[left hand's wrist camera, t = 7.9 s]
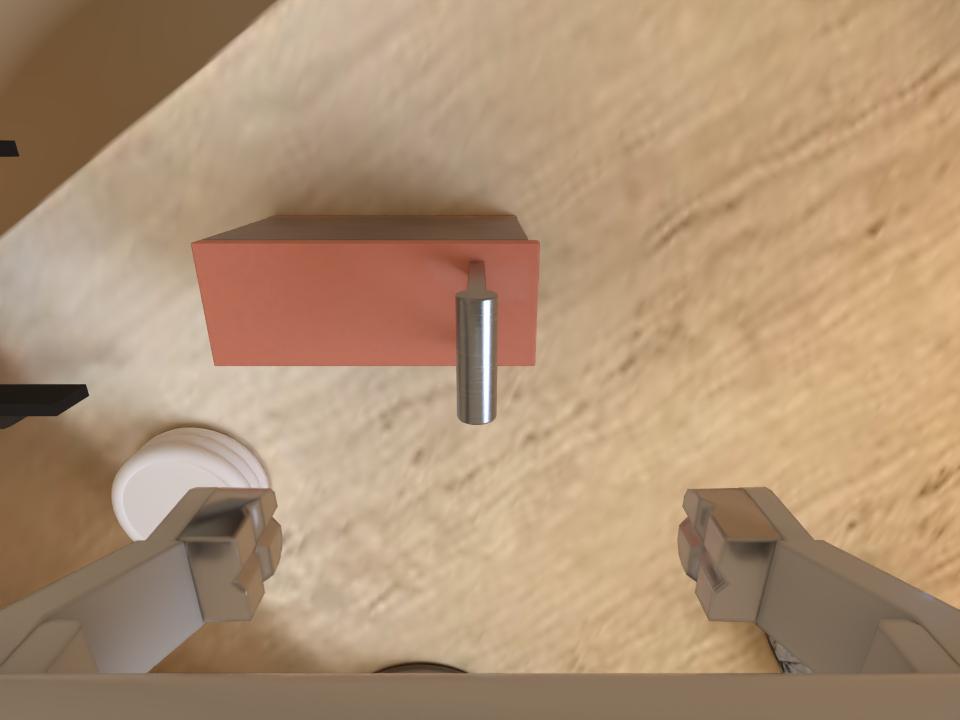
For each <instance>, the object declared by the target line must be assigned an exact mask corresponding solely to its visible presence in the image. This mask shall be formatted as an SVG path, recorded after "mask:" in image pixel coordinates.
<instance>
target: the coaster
mask: <svg viewBox="0 0 960 720" xmlns="http://www.w3.org/2000/svg"><path fill="white" fill-rule="evenodd" d="M195 487H219V488H221V487H237V488H269V485H268V480H267V477H266V475H265V472H264V470H263V468H262V466H261V464H260V463H259V462H258V460H257V459H256V458H255V456H254V455H253V454H252V453H251V452H250V451H249V450H248V449H247V448H245V447H244V446H243V445H242V444H240V443H239V442H237V441H236V440H234V439H232V438H230V437H228V436H226V435H224V434H222V433H219V432H216V431H212V430H208V429H203V428H193V427H191V428H178V429H173V430H169V431H166V432H164V433H161V434H159V435H157V436H155V437H153V438H152V439H150V440H149V441H148V442H147V443H145V444H144V446H143V447H141V448H140V449H139V450H138V451H136V452H135V453H134V455H132V456H131V457H130V458H128V459H127V460H126V461H125V462H124V464H123V465H122V466H121V467H120V469H119V471H118V472H117V474H116V476H115V479H114V482H113V484H112V491H111V500H112V506H113V510H114V513H115V516H116V518H117V520H118V522H119V524H120V525H121V527H122V528H123V529H124V531H125V532H126V533H127V534H128V536H129V537H130V538H131V539H132V540H133V541H134V542H135V541H137V540H146V539H147V538H148V537H149V535H150V534H151V533H152V532H153V531H154V530H155V529H156V527H157V526H158V525H159V524H160V523H161V522H162V520H163V519H164V518H165V517H166V516H167V515H168V513H169V512H170V511H171V510H172V509H173V508H174V507H175V505H176V504H177V503H178V502H179V501H180V500H181V498H182V497H183V496H184V495H185V494H186V493H187V492H188V490H189V489H192V488H195Z"/></svg>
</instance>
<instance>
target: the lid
mask: <svg viewBox="0 0 960 720" xmlns="http://www.w3.org/2000/svg"><path fill="white" fill-rule="evenodd" d="M191 246H192V251H193V256H194V262H195V267H196V272H197V277H198V282H199V287H200V293H201V298H202V303H203V308H204V313H205V319H206V324H207V329H208V334H209V339H210V344H211V350H212V355H213V360H214V365H215V366H456V373H457V416H458V418H459V420H460V421H462V422H464V423H467V424H472V425H482V424H487V423H490V422H492V421H493V420H494V419H495V418H496V412H497V366H535V352H536V327H537V303H538V278H539V254H540V243H539V242H538V240H199V241H196V242H193V243H191Z"/></svg>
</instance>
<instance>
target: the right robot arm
mask: <svg viewBox="0 0 960 720" xmlns="http://www.w3.org/2000/svg"><path fill="white" fill-rule="evenodd" d="M12 156H13V157H14V156H19V154H18V150H17V147H16V143H15V141H2V140H0V157H12ZM88 396H89V393H88V390H87V386H86V384H0V429H5V428H7V427H10V426H12V425H14V424H15V423H17V422H19V421H20V420H22V419H24V418H25V417H27V416H58V415H59V414H61V413H62V412H64V411H66V410H67V409H69V408H70V407H72V406H74V405H75V404H77V403H78V402H80V401H81V400H83V399H85V398H86V397H88ZM378 673H463V672H460V671H457V670H454V669H451V668H447V667H442V666H436V665H422V664H418V665H405V666H399V667H394V668H390V669H387V670H384V671H381V672H378Z"/></svg>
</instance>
